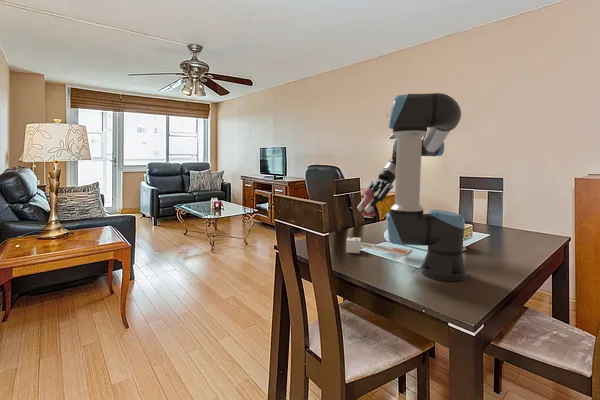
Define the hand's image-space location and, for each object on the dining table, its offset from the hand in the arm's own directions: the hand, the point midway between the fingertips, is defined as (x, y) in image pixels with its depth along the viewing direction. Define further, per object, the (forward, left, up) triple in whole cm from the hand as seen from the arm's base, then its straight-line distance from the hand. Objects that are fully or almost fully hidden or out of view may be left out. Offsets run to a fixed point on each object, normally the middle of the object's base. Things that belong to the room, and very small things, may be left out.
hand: (362, 210), depth 154 cm
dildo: (+3, -2, -3) cm, 5 cm away
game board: (+3, -9, -18) cm, 20 cm away
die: (-9, 0, -18) cm, 20 cm away
